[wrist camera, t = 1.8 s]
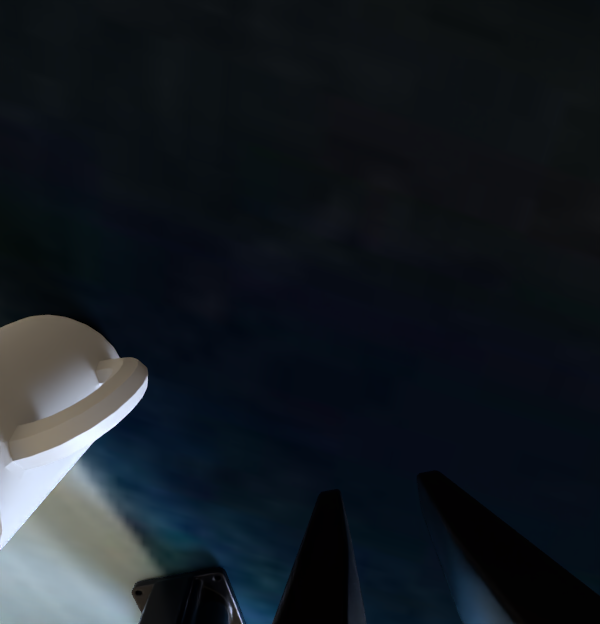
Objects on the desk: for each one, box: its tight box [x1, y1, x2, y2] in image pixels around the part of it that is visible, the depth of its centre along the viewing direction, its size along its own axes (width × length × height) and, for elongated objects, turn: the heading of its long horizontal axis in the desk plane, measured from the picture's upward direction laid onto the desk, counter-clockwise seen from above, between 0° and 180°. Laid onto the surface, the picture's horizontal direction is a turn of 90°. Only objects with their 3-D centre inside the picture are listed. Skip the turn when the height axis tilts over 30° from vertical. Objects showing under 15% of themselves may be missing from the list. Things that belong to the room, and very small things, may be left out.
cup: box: [0, 315, 148, 551], centre depth 15 cm, size 7×10×9 cm
